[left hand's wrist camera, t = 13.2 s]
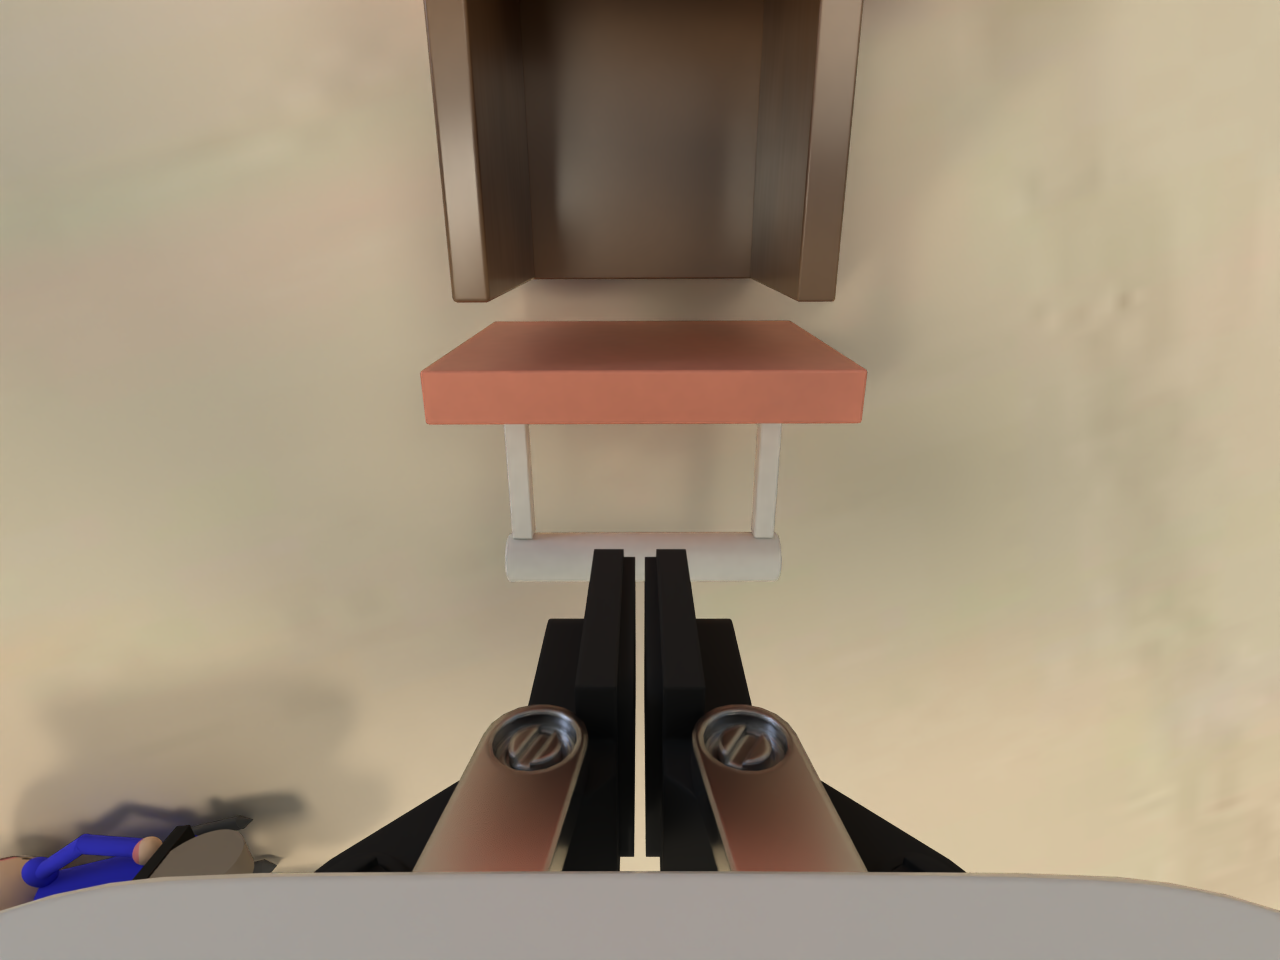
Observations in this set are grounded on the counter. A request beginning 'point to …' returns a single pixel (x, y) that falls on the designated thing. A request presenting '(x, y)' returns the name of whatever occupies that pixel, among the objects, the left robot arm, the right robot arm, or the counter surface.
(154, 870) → the figurine character
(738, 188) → the drawer
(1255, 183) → the counter surface
